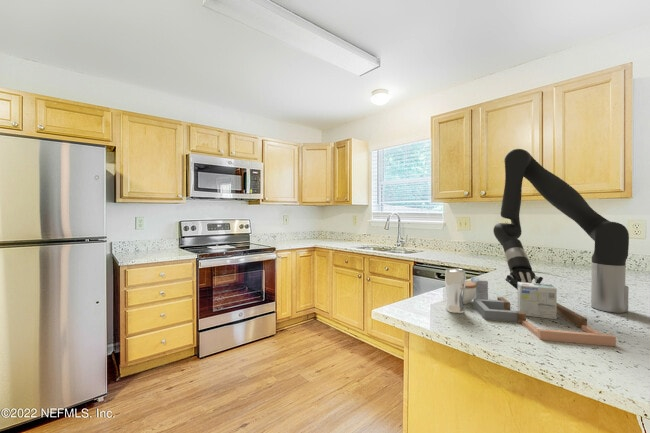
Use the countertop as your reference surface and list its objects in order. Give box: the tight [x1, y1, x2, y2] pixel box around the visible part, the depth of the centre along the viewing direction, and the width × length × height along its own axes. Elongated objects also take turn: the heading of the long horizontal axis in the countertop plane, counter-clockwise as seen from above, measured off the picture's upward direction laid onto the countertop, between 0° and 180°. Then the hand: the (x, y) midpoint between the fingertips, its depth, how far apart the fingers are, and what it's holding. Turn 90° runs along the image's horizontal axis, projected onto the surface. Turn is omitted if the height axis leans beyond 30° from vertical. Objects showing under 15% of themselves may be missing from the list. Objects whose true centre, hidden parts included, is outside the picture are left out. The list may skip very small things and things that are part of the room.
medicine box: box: [470, 276, 489, 300], centre depth 122 cm, size 8×4×9 cm, turn 168°
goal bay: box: [521, 320, 617, 347], centre depth 86 cm, size 18×12×2 cm, turn 77°
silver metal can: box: [444, 268, 467, 314], centre depth 107 cm, size 7×7×15 cm
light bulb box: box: [517, 282, 558, 320], centre depth 103 cm, size 11×7×11 cm, turn 65°
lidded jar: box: [463, 280, 476, 305], centre depth 119 cm, size 11×11×9 cm
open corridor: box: [496, 296, 588, 329], centre depth 103 cm, size 19×20×3 cm
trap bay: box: [472, 298, 518, 323], centre depth 104 cm, size 10×14×3 cm
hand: (530, 299), depth 107 cm, fingers closed
